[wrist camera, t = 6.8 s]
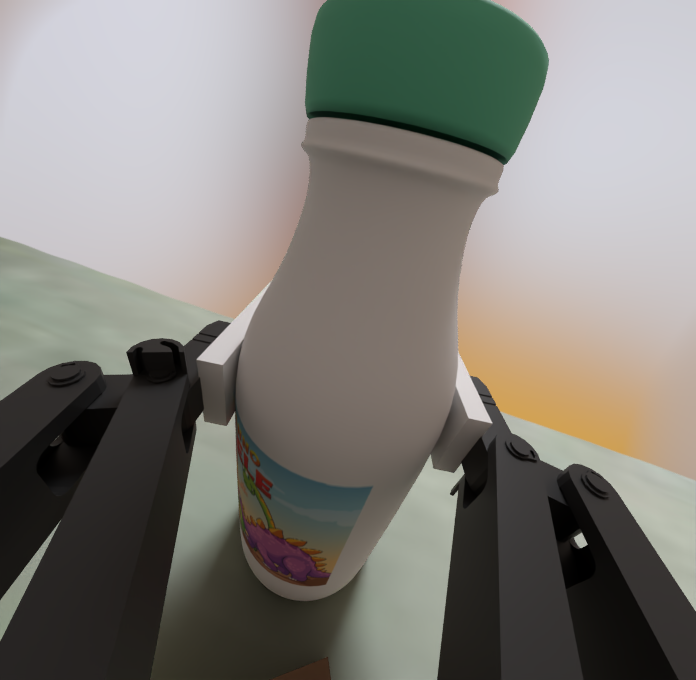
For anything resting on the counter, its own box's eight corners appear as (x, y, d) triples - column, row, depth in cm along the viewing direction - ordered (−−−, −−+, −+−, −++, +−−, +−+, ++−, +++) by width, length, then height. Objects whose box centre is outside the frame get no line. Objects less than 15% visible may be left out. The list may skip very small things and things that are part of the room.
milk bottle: (335, 442, 20) (428, 112, 10) (396, 551, 15) (739, 99, 5) (228, 483, 16) (186, 2, 6) (261, 649, 11) (458, -1116, 1)
